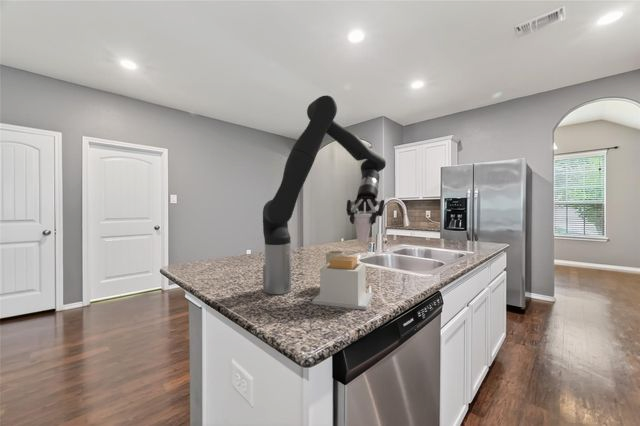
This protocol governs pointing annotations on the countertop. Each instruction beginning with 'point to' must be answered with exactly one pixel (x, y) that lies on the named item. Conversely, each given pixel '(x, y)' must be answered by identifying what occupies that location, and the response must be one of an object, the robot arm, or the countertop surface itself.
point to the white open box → (343, 288)
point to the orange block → (343, 262)
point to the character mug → (333, 255)
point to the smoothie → (363, 225)
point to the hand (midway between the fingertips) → (362, 222)
